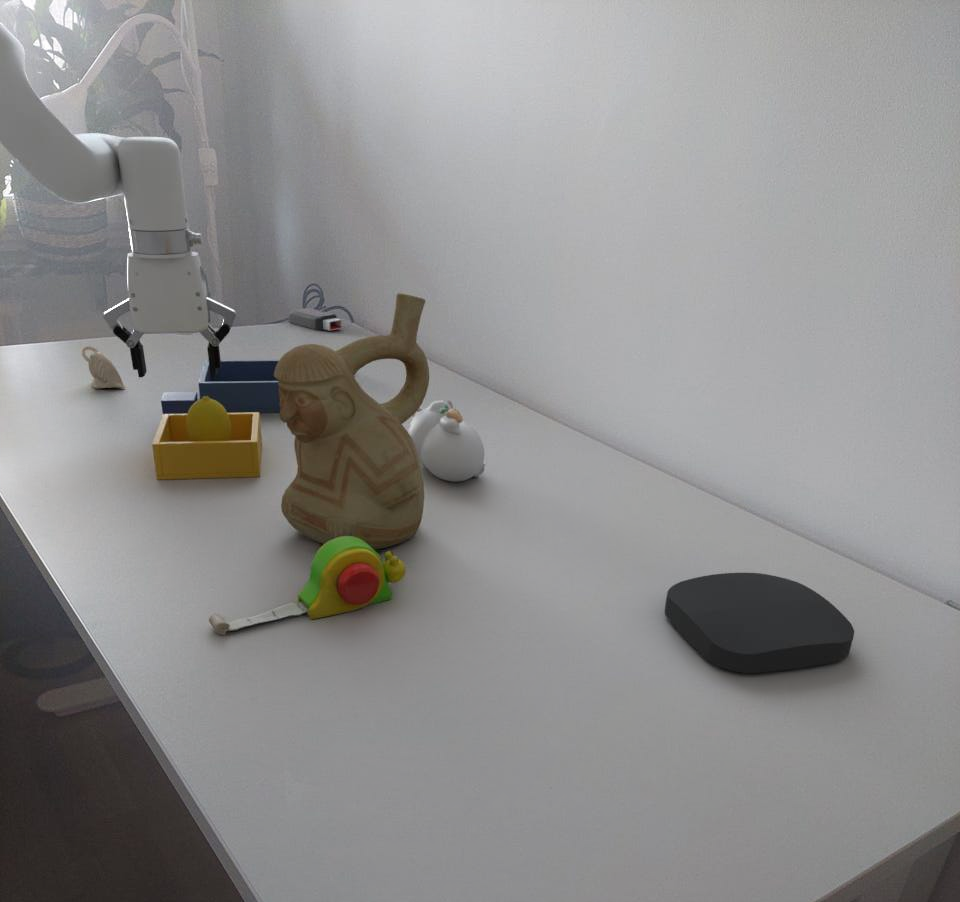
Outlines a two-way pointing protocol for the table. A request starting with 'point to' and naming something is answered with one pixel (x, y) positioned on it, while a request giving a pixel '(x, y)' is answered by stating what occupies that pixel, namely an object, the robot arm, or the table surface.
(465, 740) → the table surface
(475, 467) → the cat figurine
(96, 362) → the decorative ornament
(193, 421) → the lemon
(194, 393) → the navy block
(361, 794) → the table surface
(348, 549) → the toy measuring tape
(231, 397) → the blue bin
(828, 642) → the media streaming box
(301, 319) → the usb drive
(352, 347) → the ceramic vessel
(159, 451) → the yellow bin
